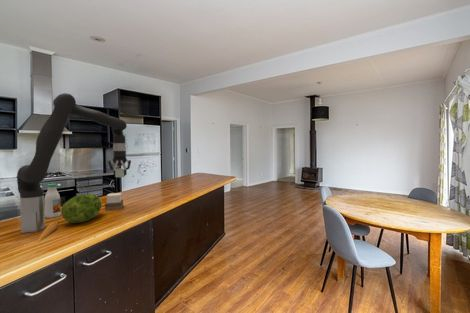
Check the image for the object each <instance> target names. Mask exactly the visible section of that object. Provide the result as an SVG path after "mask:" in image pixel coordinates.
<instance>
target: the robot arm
mask: <svg viewBox="0 0 470 313" xmlns="http://www.w3.org/2000/svg"><path fill="white" fill-rule="evenodd" d="M52 105H53V109H52V112H51V114H50V115H49V117H48V118H47V120H46V121H45V122H44V124H43V125H42V127H41V129H40V131H39V133H38V135H37V138H36V141H35V153H34V156H33V159H32V160H31V162H30V163H29V164H24V165H23V166H21V167H20V168H19V169H18V170H17V174H16V179H17V180H16V182H17V183H16V184H17V191H18V193H19V200H20V204H19V205H20V226H21V227H20V228H21V229H20V230H21V234H25V233H35V232H38V231H41V230H45V228H46V222H45V220H46V219H45V218H46V217H45V191H44V189H43V188H42V187H41V182H42V181H43V180H45V178H46V176H47V174H48V171H49V167H50V164H51V160H52V158H53V155H54V153H55V152H56V148H57V147H58V144H59V142H60V141H61V138H62V135H63V132H64V130H65V127H66V124H67V121H68V119H69V117H70V115H74V116H78V117H81V118H83V119H86V120H90V121H92V122H95V123H97V124H100V125H103V126H106V127H111V131H112V135H113V145H112V150H113V152H112V153H113V154H112V155H113V158H112V160H108V161H107V162H108V166H109V169H110V170H112V171H113V176H115V170H116V169H118V167H119V166H122V169H124V176H125V177H126V176H127V170H130V169H131V168H130V167H131V163H132V160H131V159H127V147H126V135H124V130H126V129H127V122H126V121H124V120H123V119H122V118H119V117H115V116H111V115H109V114H106V113H105V112H101V111H100V110H96V109H91V108H88V107H86V106H85V107H84V106H82V105H78V104H77V102H76V99H75V97H74V96H73V95H72V94H71V93H68V92H66V93H60V94H58V95H57V96H55V98H54V99H53V102H52ZM113 163H114V167H113ZM126 163H127V166H126Z"/></svg>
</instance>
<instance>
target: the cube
mask: <svg viewBox="0 0 470 313" xmlns="http://www.w3.org/2000/svg"><path fill="white" fill-rule="evenodd" d="M114 177H115V178H125V177H126V175H125V176H124V168H116V170H115V175H114Z"/></svg>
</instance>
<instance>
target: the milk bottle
mask: <svg viewBox="0 0 470 313" xmlns="http://www.w3.org/2000/svg"><path fill="white" fill-rule="evenodd" d="M46 188H47V191H46V193H45V194H44V215H45V218H46V219H51V218H57V217H60V216H62V207H61V196H60V192H58V190H57V188H58V187H57V183H49V184H47V185H46Z"/></svg>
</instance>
